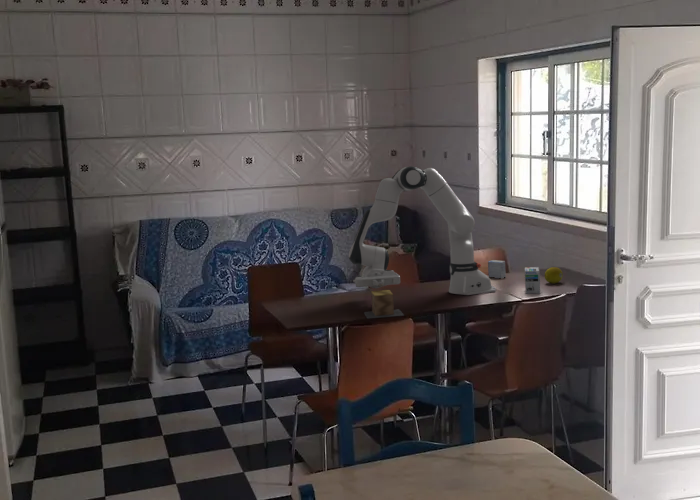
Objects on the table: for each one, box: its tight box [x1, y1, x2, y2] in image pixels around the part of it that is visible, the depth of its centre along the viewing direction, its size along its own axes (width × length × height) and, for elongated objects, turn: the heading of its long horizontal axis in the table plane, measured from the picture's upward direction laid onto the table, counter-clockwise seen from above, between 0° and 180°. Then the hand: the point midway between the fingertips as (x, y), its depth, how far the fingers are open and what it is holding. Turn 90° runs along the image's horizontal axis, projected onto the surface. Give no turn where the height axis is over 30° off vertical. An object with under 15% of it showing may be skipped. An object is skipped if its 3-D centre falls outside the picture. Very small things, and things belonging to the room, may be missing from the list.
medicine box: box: [487, 259, 507, 279], centre depth 403 cm, size 8×4×9 cm, turn 47°
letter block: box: [370, 289, 395, 316], centre depth 339 cm, size 8×9×9 cm
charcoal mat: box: [363, 308, 405, 320], centre depth 338 cm, size 16×12×1 cm
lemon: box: [544, 266, 564, 285], centre depth 381 cm, size 11×8×8 cm
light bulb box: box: [524, 266, 541, 295], centre depth 365 cm, size 11×7×11 cm, turn 169°
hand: (380, 283), depth 342 cm, fingers closed
